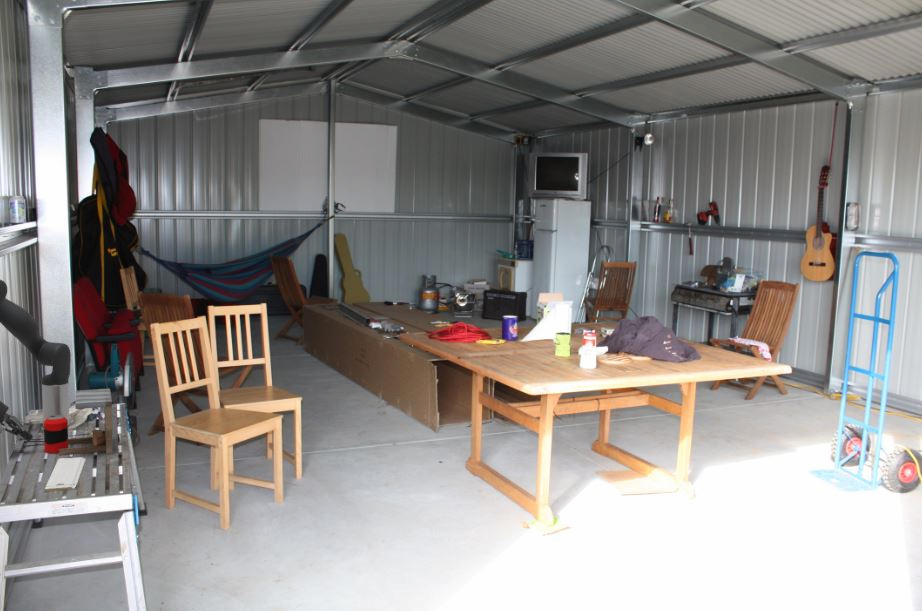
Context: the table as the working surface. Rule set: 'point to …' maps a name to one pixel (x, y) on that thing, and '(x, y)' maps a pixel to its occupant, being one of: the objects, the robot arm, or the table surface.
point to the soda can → (55, 434)
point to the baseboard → (65, 474)
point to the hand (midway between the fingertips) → (30, 438)
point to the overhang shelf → (100, 437)
